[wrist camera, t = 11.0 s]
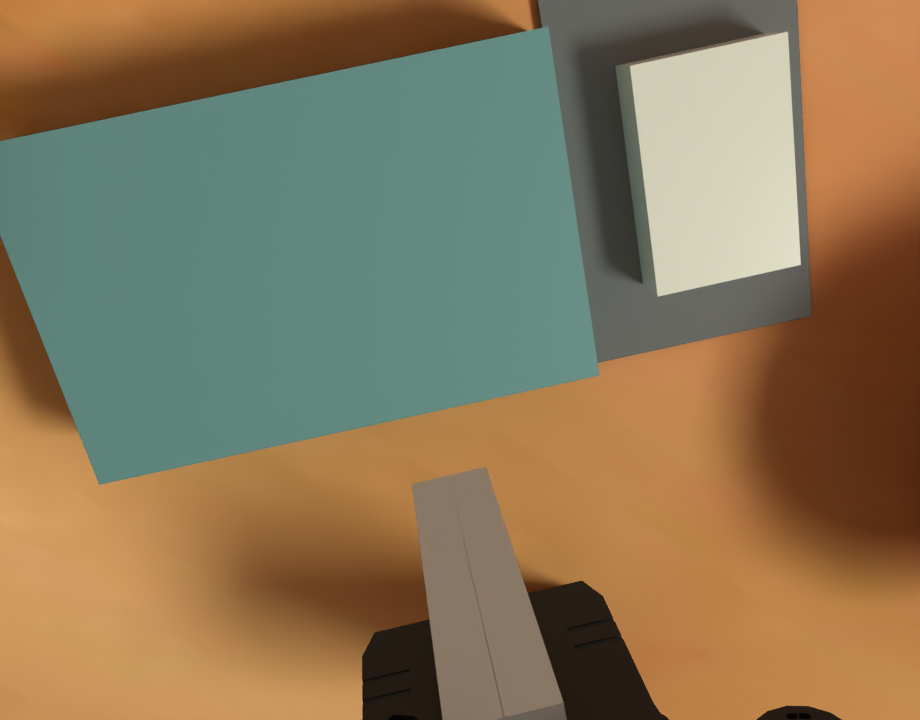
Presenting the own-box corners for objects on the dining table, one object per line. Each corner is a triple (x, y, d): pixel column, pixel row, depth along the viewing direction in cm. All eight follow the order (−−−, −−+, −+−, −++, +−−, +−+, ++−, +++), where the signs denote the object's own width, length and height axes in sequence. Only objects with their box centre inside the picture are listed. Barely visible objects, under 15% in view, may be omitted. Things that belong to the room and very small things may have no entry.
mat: (590, 361, 37) (592, 363, 36) (536, 0, 31) (538, 0, 31) (808, 314, 37) (811, 316, 36) (790, -53, 32) (794, -54, 31)
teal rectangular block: (128, 440, 36) (99, 484, 32) (14, 138, 31) (-35, 148, 28) (576, 343, 36) (599, 375, 32) (528, 31, 32) (548, 26, 28)
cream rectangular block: (800, 264, 34) (778, 254, 35) (788, 31, 30) (764, 33, 32) (657, 296, 33) (642, 284, 35) (630, 65, 30) (615, 65, 32)
